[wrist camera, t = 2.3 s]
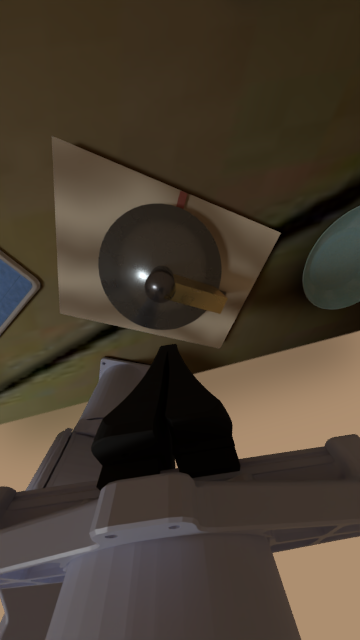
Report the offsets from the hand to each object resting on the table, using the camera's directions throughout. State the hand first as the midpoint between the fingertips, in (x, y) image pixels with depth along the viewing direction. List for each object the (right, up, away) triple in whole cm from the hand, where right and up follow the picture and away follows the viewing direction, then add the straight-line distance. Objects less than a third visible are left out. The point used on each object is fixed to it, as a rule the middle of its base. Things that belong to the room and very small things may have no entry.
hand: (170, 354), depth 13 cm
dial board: (-1, +9, +6) cm, 11 cm away
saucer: (+21, +11, +7) cm, 25 cm away
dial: (-1, +8, +4) cm, 9 cm away
